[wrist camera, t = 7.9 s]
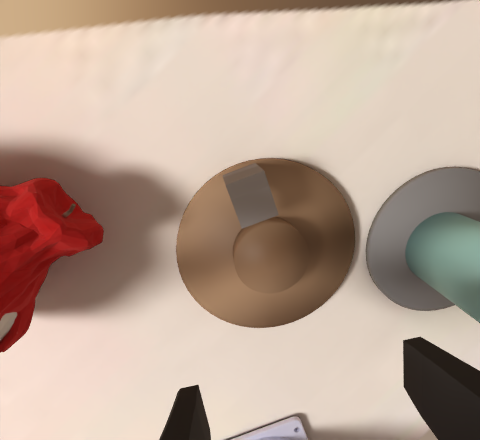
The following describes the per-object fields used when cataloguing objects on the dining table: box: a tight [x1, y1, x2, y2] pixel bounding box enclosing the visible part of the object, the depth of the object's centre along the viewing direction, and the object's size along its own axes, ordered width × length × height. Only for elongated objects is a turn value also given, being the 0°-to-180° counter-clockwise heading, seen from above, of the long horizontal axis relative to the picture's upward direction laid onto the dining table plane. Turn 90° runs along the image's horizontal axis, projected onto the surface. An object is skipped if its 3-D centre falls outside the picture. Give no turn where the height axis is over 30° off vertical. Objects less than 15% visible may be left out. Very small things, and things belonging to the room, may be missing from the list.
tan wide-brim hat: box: [176, 158, 355, 328], centre depth 19 cm, size 11×11×4 cm
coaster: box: [366, 167, 480, 311], centre depth 22 cm, size 10×10×1 cm
